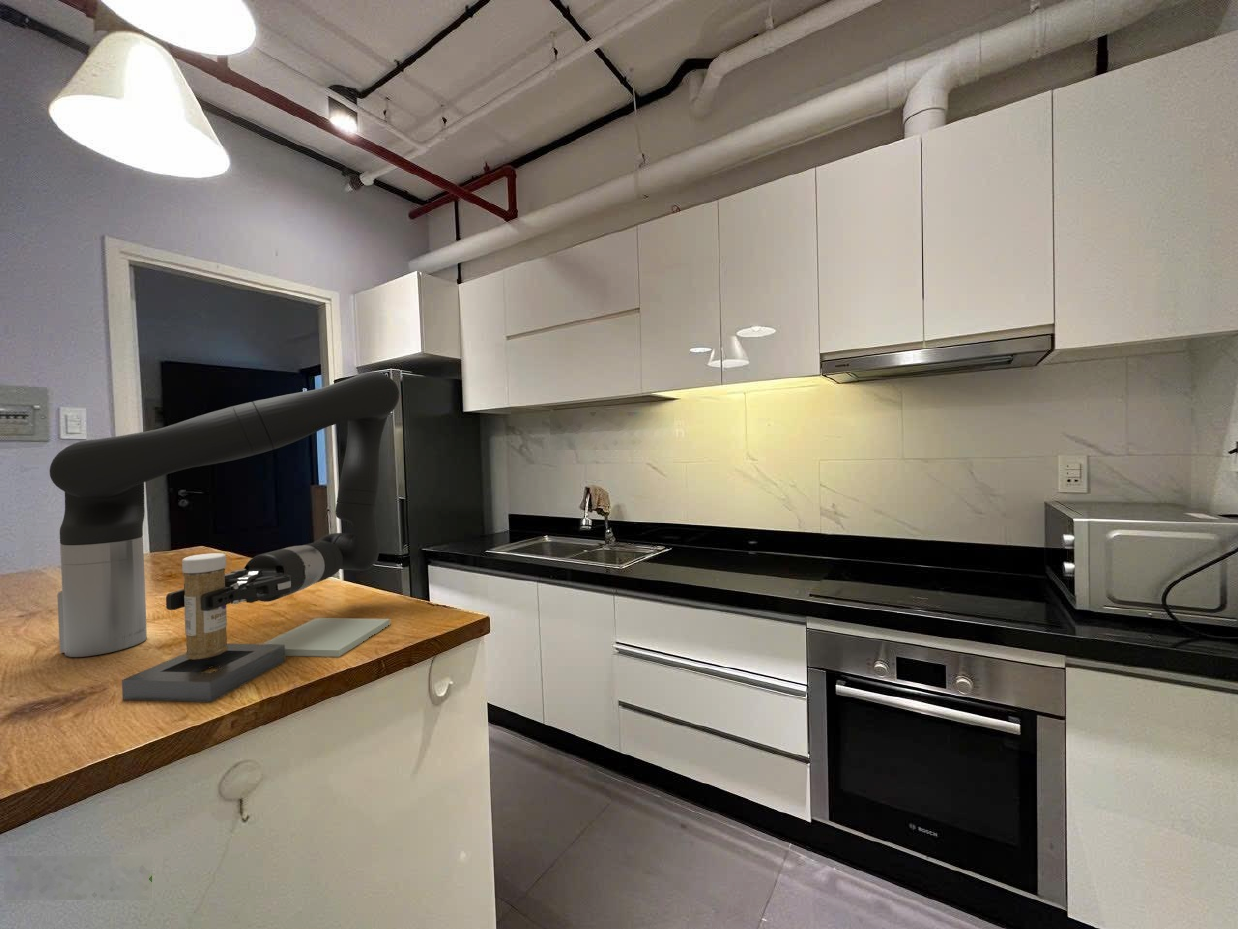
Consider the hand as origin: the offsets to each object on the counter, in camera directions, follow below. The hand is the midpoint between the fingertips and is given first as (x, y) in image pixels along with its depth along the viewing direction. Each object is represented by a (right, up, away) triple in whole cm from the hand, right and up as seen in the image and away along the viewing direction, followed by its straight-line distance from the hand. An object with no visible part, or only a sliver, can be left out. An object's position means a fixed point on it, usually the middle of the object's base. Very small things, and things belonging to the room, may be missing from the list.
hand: (186, 602), depth 64 cm
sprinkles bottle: (0, -8, +3) cm, 8 cm away
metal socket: (+1, -11, +3) cm, 12 cm away
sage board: (+8, -11, +17) cm, 22 cm away
